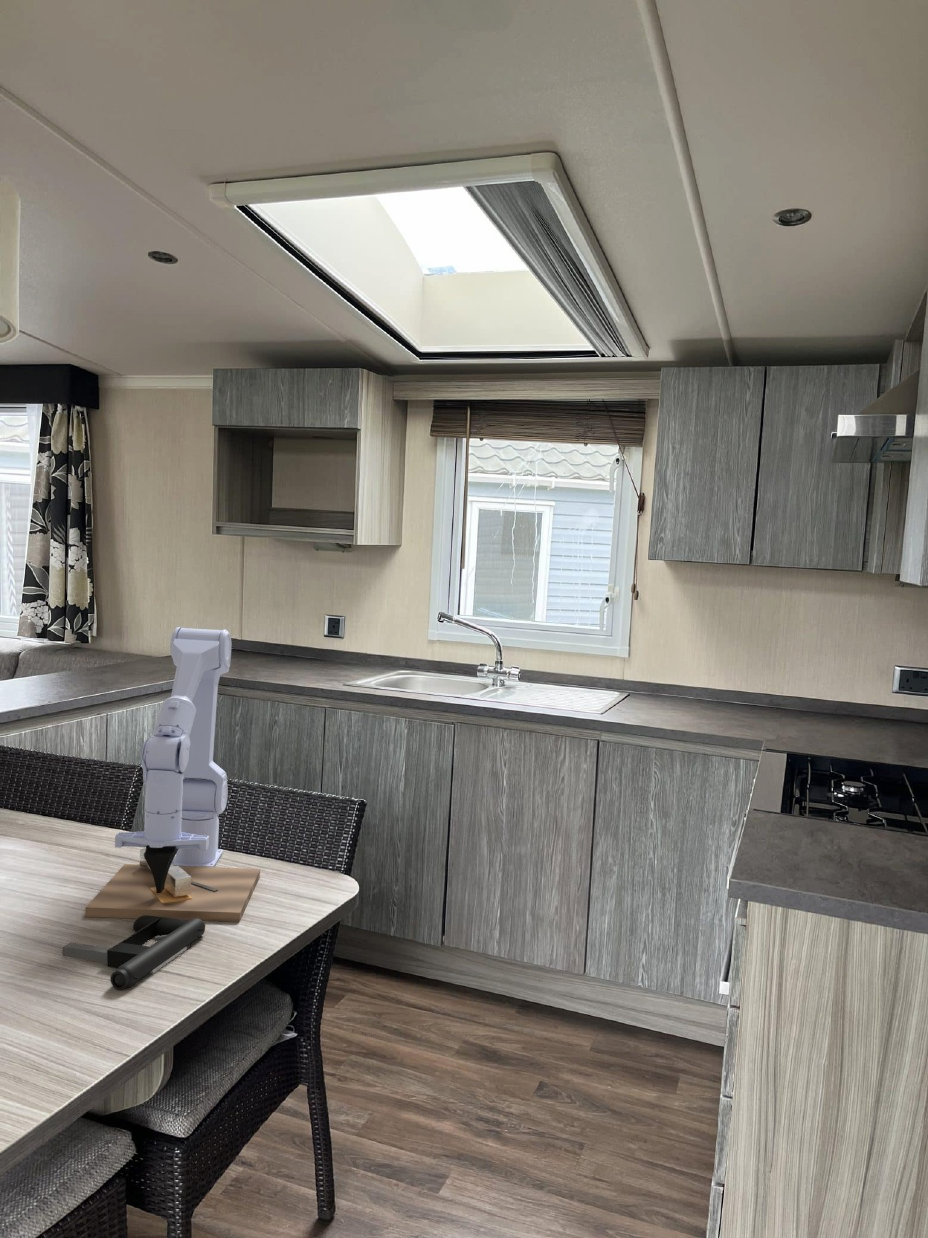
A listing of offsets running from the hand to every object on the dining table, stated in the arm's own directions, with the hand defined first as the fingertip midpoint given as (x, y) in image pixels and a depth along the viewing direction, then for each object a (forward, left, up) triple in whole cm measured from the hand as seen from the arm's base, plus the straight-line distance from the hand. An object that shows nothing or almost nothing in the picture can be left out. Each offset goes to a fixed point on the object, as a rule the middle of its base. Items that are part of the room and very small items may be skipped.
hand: (160, 891), depth 149 cm
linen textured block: (-7, -1, 0) cm, 7 cm away
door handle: (+17, 0, -3) cm, 18 cm away
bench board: (-5, +2, -3) cm, 6 cm away
